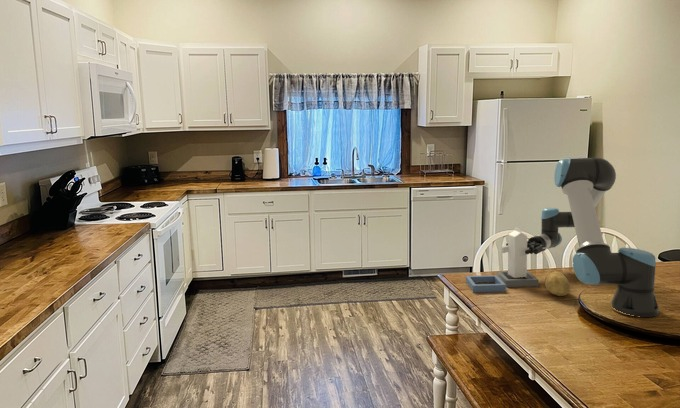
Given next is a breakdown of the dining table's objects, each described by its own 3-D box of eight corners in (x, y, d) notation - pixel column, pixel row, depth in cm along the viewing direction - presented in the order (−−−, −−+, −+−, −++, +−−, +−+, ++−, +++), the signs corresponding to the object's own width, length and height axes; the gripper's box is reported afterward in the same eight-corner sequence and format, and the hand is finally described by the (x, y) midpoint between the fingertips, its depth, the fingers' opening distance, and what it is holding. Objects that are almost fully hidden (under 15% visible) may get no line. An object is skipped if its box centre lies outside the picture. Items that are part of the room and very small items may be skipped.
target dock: (505, 291, 205) (505, 284, 205) (473, 292, 206) (472, 285, 206) (496, 281, 219) (496, 275, 219) (465, 282, 220) (465, 276, 219)
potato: (540, 297, 197) (540, 275, 196) (549, 287, 208) (550, 266, 207) (566, 301, 191) (567, 278, 189) (574, 291, 202) (575, 269, 201)
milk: (519, 273, 221) (520, 226, 218) (526, 277, 215) (527, 228, 212) (507, 274, 220) (508, 227, 217) (514, 278, 214) (515, 229, 211)
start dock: (538, 286, 211) (538, 279, 210) (506, 287, 211) (506, 280, 211) (527, 276, 224) (527, 270, 224) (497, 277, 225) (497, 271, 225)
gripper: (559, 254, 219) (532, 264, 205) (518, 247, 235) (491, 255, 222) (560, 238, 218) (533, 247, 204) (518, 232, 234) (491, 240, 221)
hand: (511, 251), depth 213 cm, fingers closed on milk, 8 cm apart
